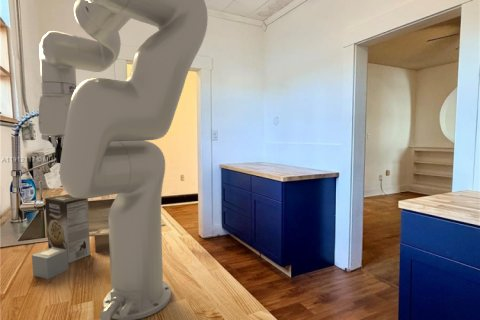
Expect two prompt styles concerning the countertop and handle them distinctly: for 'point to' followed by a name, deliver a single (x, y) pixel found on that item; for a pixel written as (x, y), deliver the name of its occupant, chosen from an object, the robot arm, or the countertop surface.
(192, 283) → the countertop surface
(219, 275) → the countertop surface
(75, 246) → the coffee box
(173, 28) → the robot arm
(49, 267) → the slate block
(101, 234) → the walnut block
